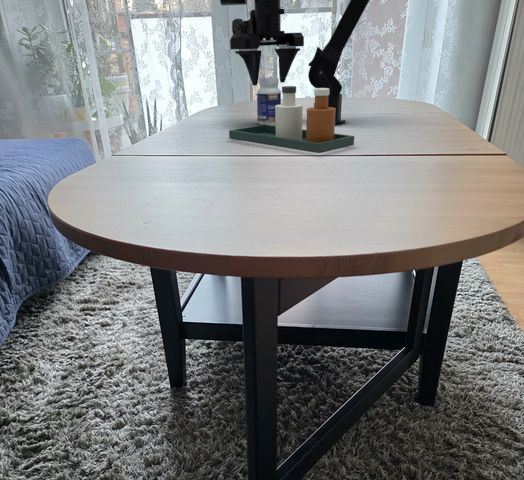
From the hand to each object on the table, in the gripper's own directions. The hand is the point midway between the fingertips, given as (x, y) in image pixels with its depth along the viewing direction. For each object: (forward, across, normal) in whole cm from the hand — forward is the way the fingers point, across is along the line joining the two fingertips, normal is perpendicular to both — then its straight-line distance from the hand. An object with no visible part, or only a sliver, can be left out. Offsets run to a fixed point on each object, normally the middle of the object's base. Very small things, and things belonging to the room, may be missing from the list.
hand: (268, 83), depth 119 cm
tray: (+9, +17, +22) cm, 29 cm away
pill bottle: (+9, 0, 0) cm, 9 cm away
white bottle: (+8, +17, +22) cm, 29 cm away
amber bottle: (+8, +17, +30) cm, 36 cm away
